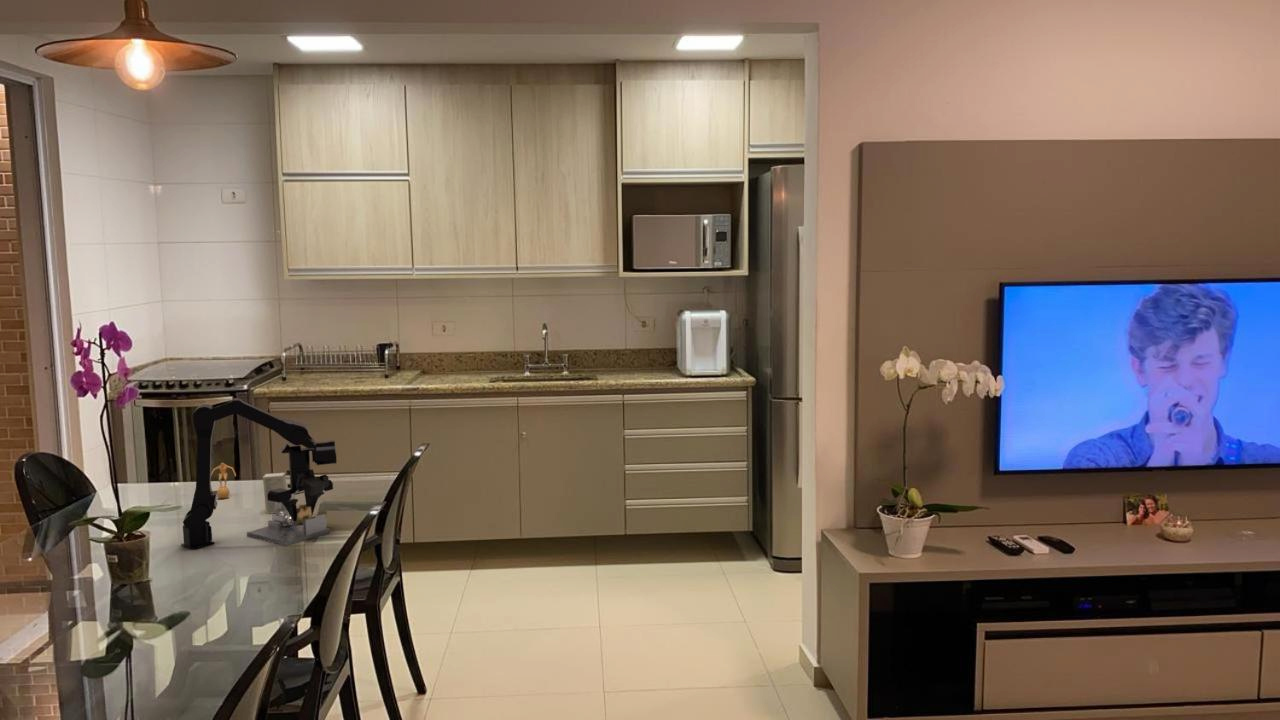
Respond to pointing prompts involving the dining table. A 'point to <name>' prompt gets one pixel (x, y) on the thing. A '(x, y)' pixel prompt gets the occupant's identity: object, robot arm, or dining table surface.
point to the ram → (282, 515)
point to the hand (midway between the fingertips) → (302, 518)
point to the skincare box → (273, 488)
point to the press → (291, 531)
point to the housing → (302, 513)
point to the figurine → (224, 491)
